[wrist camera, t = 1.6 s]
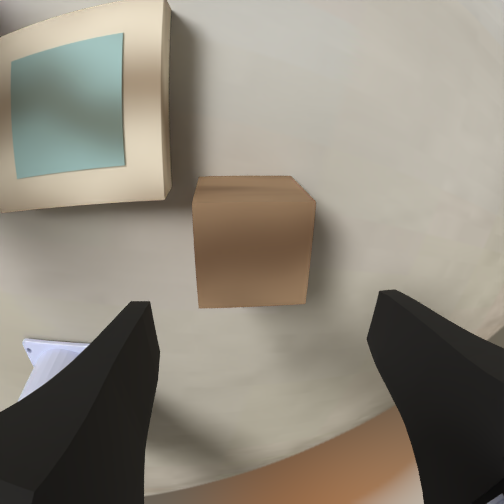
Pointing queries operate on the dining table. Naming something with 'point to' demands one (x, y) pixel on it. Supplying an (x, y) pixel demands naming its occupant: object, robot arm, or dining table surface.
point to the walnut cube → (252, 241)
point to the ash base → (86, 108)
